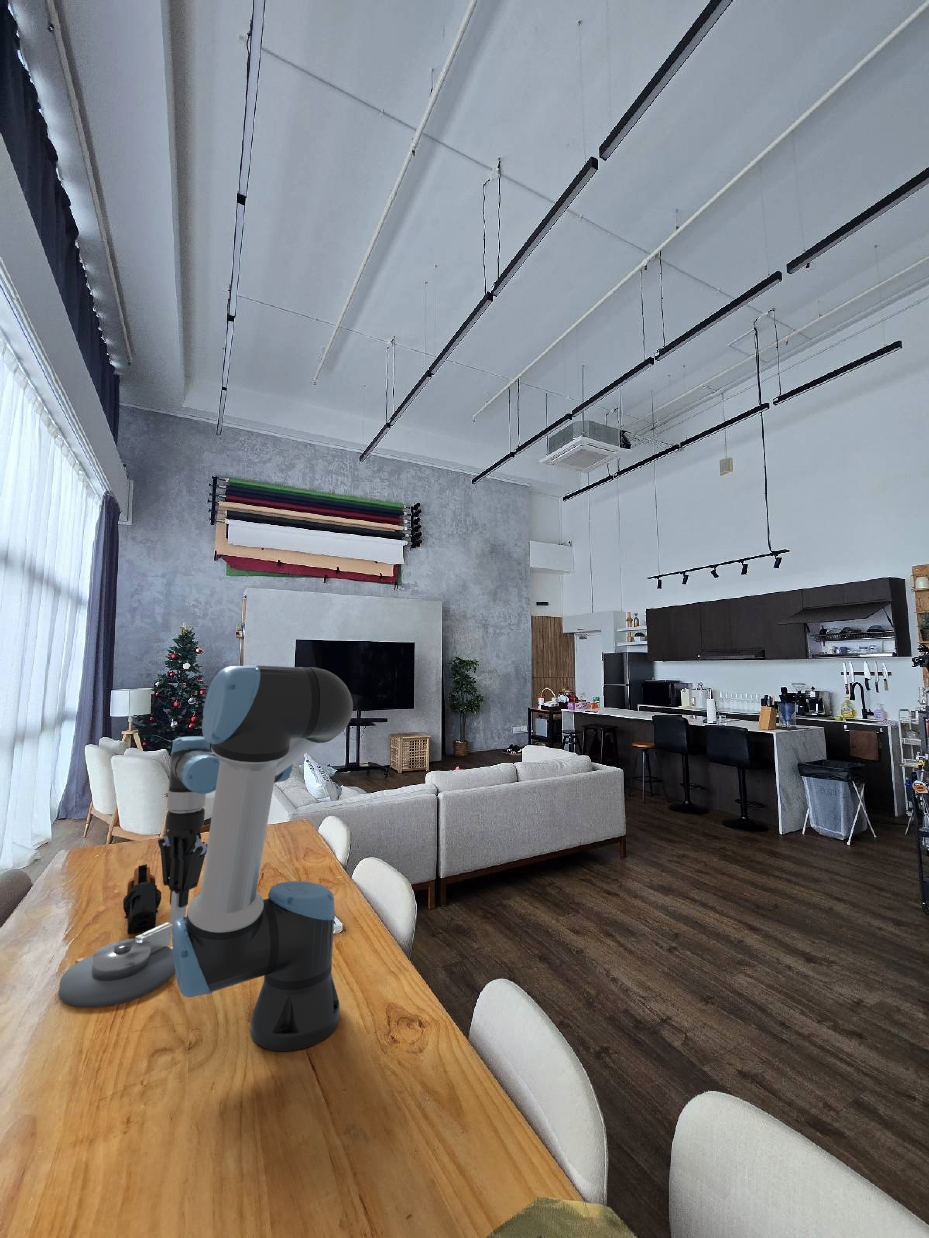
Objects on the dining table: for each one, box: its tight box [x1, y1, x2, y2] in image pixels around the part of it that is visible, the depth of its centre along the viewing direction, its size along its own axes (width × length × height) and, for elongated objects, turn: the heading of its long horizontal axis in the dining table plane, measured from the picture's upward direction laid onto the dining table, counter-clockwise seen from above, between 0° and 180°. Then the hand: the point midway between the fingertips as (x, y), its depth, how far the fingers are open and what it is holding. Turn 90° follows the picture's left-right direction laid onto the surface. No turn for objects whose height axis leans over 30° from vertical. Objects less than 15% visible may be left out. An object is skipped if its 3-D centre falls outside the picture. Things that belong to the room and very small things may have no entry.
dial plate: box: [58, 946, 176, 1009], centre depth 112 cm, size 22×22×2 cm
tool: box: [122, 863, 162, 935], centre depth 136 cm, size 8×23×15 cm, turn 31°
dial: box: [92, 921, 173, 980], centre depth 113 cm, size 16×10×4 cm, turn 158°
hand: (177, 921), depth 117 cm, fingers closed
